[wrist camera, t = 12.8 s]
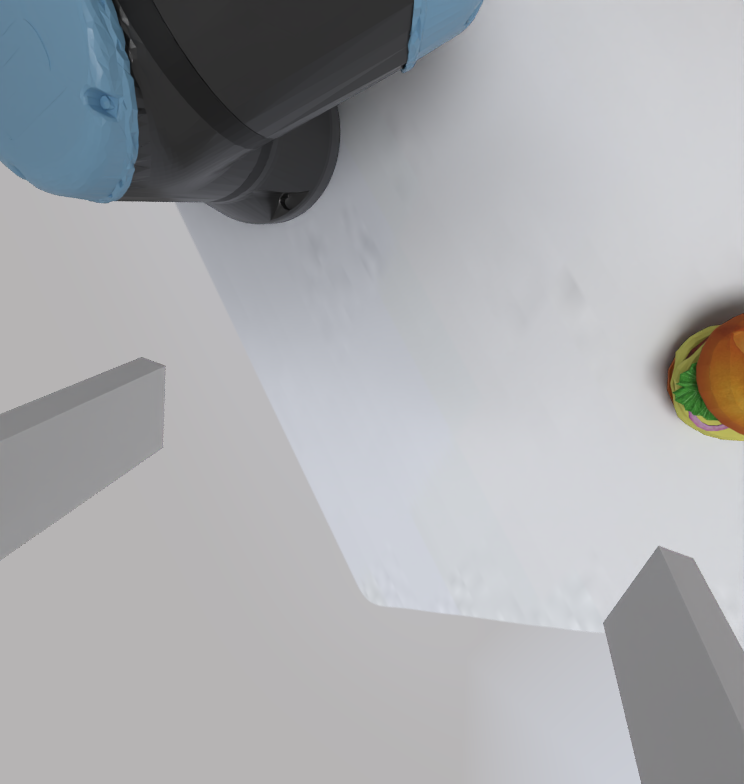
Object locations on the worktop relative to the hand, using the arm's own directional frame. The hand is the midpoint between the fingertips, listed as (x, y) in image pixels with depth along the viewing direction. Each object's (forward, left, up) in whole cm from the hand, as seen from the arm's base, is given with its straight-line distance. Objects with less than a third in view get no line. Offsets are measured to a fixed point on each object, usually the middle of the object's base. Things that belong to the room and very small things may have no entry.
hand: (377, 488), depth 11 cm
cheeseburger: (+22, 0, -32) cm, 39 cm away
